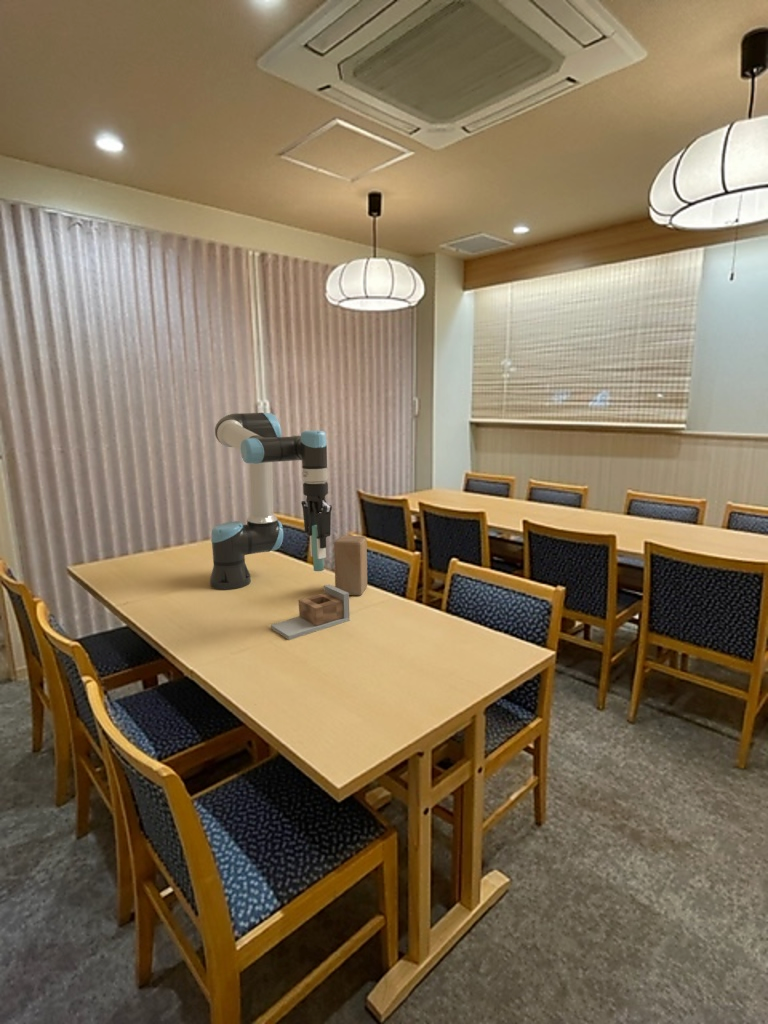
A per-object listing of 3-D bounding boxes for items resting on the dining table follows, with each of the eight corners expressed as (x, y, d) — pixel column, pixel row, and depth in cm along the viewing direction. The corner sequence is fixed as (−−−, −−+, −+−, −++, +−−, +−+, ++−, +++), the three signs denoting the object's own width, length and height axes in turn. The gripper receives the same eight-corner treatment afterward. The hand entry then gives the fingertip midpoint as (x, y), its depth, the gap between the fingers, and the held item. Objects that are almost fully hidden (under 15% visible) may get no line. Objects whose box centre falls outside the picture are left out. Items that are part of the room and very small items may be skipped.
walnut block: (299, 616, 174) (298, 599, 173) (325, 608, 181) (325, 592, 180) (316, 625, 167) (315, 608, 166) (343, 617, 173) (342, 600, 172)
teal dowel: (320, 567, 173) (318, 524, 171) (325, 569, 171) (324, 526, 168) (311, 569, 171) (309, 526, 169) (317, 571, 169) (315, 527, 166)
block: (361, 596, 196) (360, 542, 192) (334, 594, 198) (333, 541, 194) (368, 587, 205) (367, 535, 201) (342, 585, 207) (340, 534, 203)
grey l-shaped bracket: (270, 628, 169) (269, 600, 167) (330, 610, 183) (329, 584, 181) (288, 639, 161) (287, 610, 159) (349, 620, 174) (348, 593, 173)
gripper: (290, 480, 170) (294, 554, 174) (320, 485, 158) (323, 564, 162) (311, 478, 174) (313, 549, 179) (341, 483, 162) (343, 559, 167)
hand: (318, 556), depth 170 cm, fingers closed on teal dowel, 3 cm apart
